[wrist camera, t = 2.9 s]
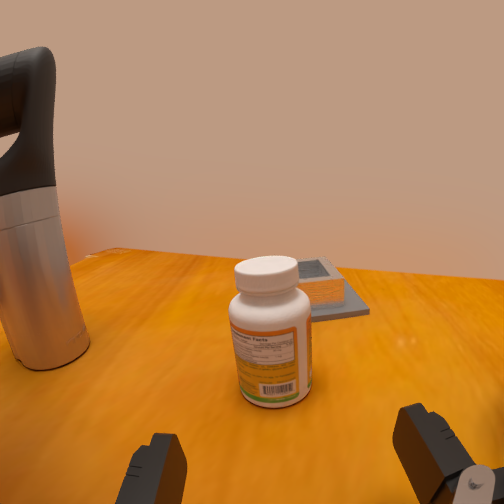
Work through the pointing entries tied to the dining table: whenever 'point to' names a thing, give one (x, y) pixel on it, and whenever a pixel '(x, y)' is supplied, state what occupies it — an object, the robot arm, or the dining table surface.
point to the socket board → (328, 291)
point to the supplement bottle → (271, 332)
